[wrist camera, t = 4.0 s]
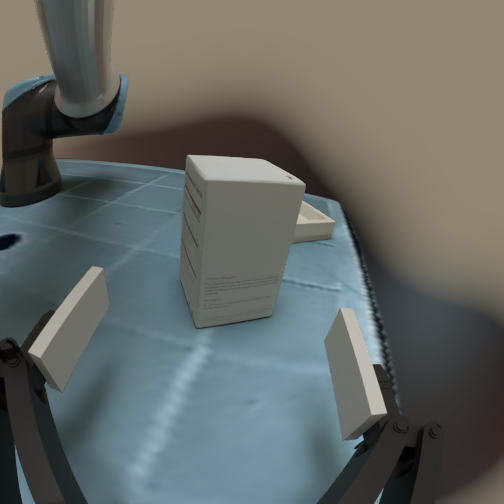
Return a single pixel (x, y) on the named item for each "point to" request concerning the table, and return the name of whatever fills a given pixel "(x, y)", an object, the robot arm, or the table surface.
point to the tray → (312, 225)
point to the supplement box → (235, 236)
